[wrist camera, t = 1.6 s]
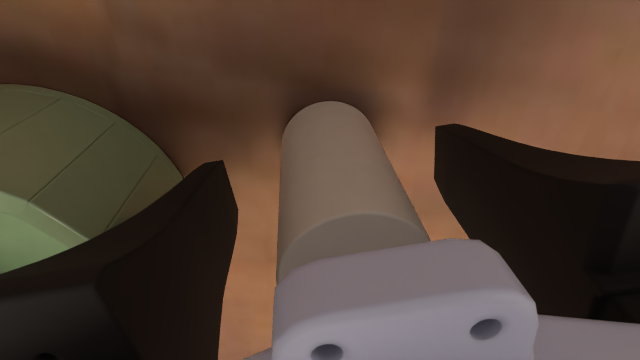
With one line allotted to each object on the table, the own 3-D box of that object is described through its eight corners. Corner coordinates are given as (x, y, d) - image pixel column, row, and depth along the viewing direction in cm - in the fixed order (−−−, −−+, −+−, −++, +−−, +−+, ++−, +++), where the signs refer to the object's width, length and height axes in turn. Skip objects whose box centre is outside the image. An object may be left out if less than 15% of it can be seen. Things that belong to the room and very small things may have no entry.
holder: (252, 219, 16) (236, 328, 11) (102, 338, 19) (39, 465, 14) (-10, 9, 11) (-232, 42, 6) (-152, 213, 14) (-373, 338, 9)
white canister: (392, 148, 14) (466, 278, 8) (323, 200, 15) (345, 351, 9) (334, 79, 13) (374, 179, 7) (261, 143, 14) (241, 279, 8)
